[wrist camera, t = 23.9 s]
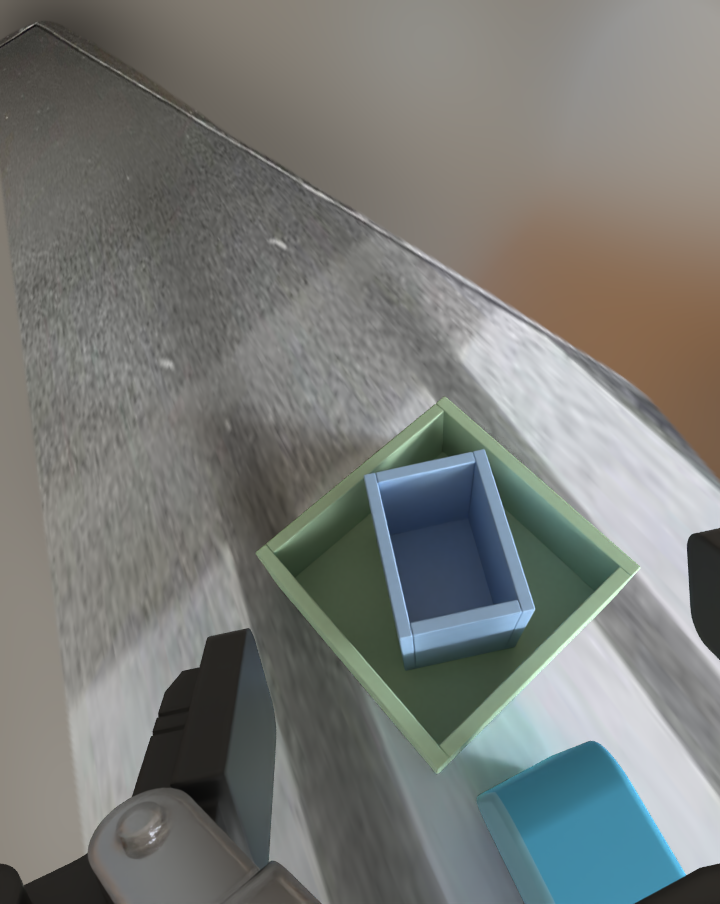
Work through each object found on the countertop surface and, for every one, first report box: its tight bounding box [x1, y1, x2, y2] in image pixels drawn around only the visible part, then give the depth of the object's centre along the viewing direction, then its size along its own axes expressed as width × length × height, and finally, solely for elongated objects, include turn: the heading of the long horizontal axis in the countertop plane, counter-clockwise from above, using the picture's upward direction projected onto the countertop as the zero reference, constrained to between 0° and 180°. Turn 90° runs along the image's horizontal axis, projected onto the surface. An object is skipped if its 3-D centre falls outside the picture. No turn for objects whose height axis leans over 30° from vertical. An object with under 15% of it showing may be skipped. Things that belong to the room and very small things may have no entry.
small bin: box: [364, 449, 535, 671], centre depth 35 cm, size 6×8×8 cm
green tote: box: [256, 396, 640, 774], centre depth 37 cm, size 13×13×6 cm
